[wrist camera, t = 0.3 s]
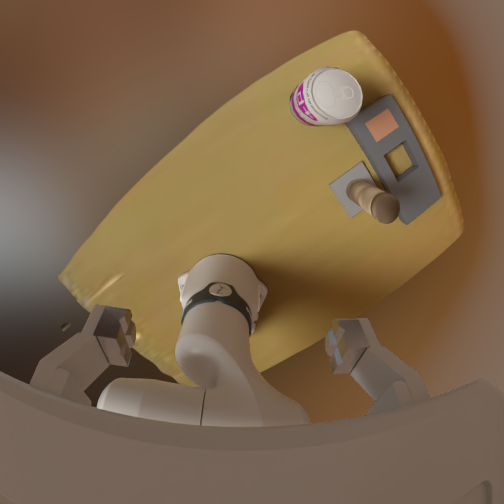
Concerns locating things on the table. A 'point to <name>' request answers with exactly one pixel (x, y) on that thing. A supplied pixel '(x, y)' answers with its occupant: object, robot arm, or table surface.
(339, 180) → the pad
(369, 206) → the maple peg
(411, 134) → the socket board
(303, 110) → the supplement can
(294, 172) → the table surface
